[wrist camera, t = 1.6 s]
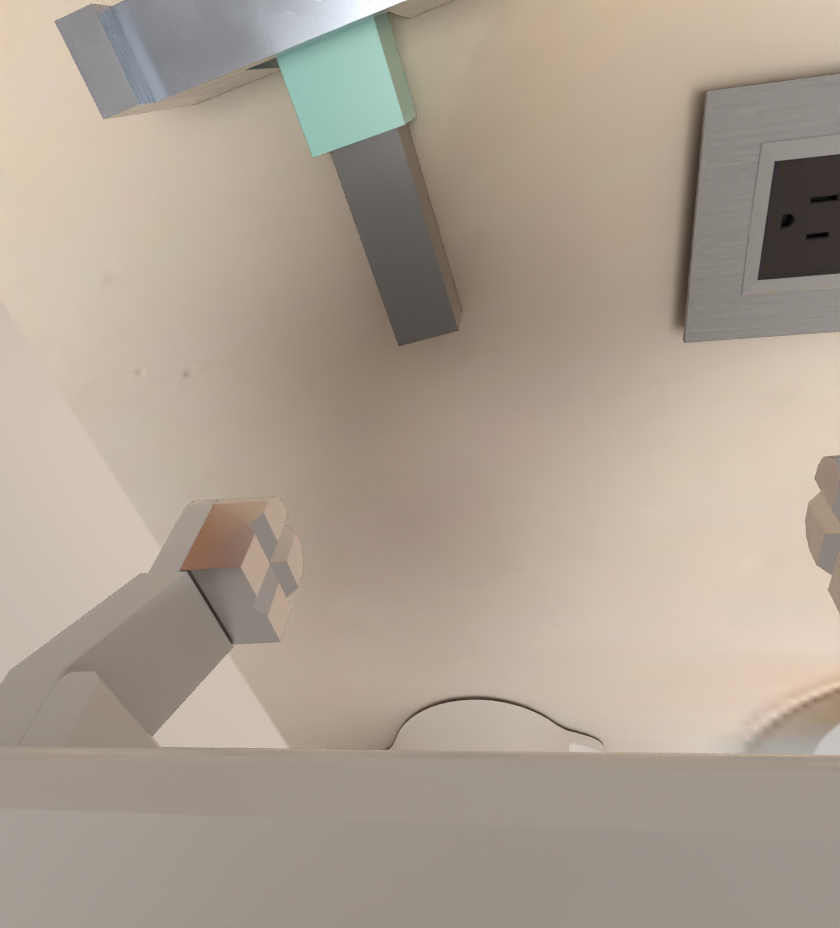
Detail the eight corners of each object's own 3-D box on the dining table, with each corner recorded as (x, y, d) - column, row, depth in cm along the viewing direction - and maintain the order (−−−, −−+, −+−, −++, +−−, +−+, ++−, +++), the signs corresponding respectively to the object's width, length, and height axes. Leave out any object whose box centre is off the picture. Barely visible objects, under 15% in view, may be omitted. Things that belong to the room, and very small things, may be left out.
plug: (471, 306, 33) (467, 335, 30) (397, 327, 34) (386, 356, 31) (377, -22, 26) (358, -34, 23) (289, 15, 27) (258, 10, 24)
